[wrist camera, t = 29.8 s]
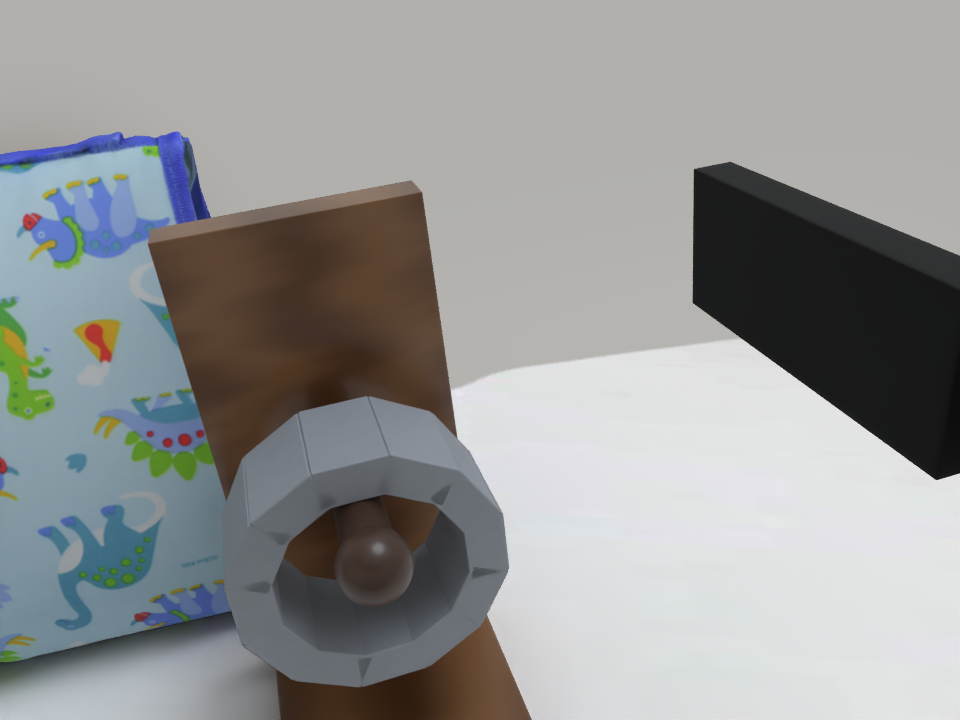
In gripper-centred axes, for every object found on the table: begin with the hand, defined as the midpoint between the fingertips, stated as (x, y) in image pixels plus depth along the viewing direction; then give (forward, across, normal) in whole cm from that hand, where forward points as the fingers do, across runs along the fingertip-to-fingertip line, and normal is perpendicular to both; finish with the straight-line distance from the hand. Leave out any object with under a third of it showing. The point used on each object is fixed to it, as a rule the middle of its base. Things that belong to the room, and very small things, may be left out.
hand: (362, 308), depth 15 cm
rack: (+15, 0, -28) cm, 32 cm away
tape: (+15, 0, -22) cm, 27 cm away
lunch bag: (+33, -15, -28) cm, 46 cm away
